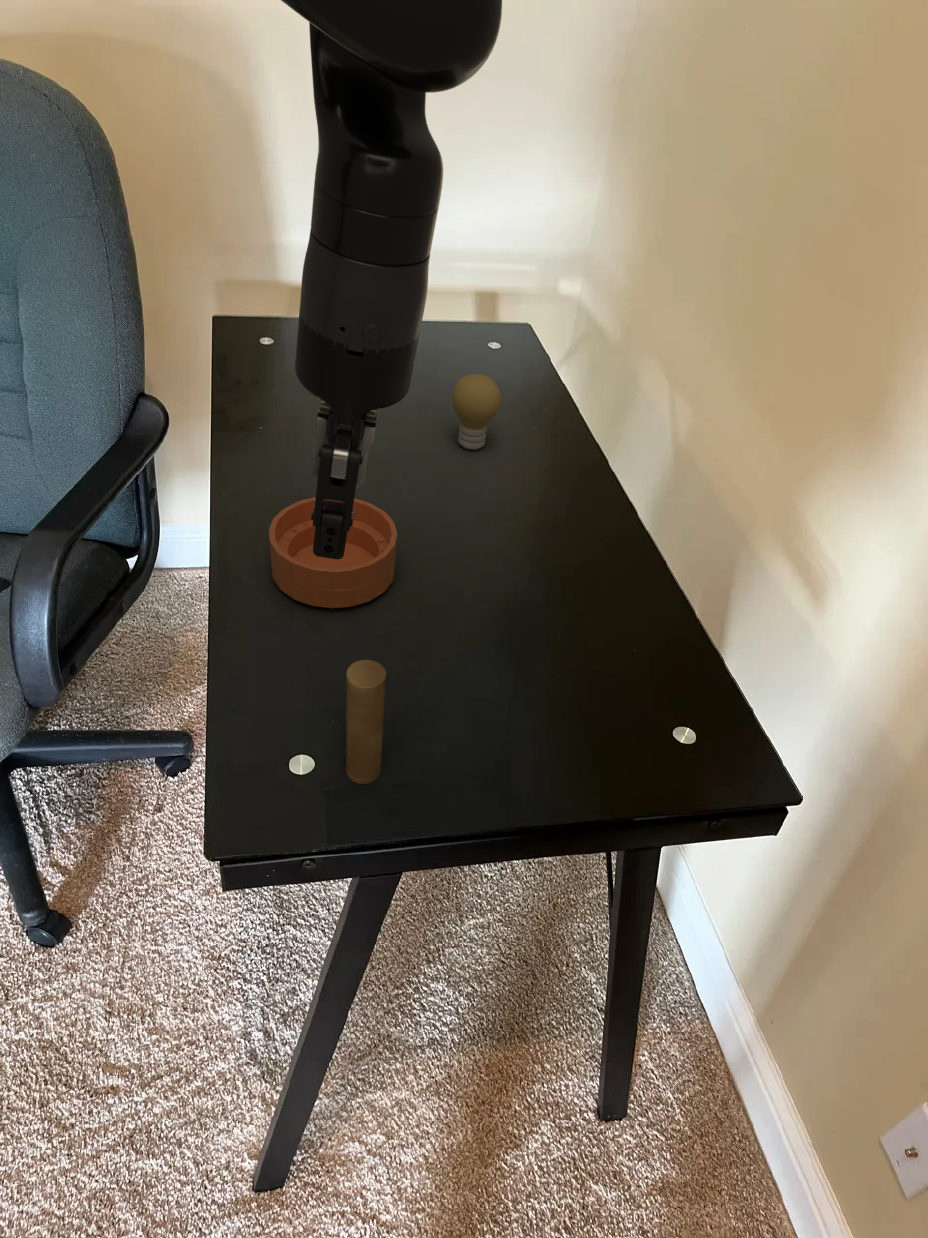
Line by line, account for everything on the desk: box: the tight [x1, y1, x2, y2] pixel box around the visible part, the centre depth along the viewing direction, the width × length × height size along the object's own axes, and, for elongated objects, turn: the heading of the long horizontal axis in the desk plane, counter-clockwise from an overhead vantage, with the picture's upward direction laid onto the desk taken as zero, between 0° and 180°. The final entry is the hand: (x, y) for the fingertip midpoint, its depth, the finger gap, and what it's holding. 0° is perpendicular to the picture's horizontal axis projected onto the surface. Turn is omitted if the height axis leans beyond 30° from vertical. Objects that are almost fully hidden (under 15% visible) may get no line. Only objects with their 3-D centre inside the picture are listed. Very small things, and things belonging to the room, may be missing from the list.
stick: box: [345, 659, 387, 785], centre depth 67 cm, size 3×3×12 cm
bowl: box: [268, 496, 398, 609], centre depth 88 cm, size 13×13×6 cm
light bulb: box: [451, 373, 502, 451], centre depth 110 cm, size 6×6×10 cm
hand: (333, 518), depth 62 cm, fingers open, 8 cm apart
